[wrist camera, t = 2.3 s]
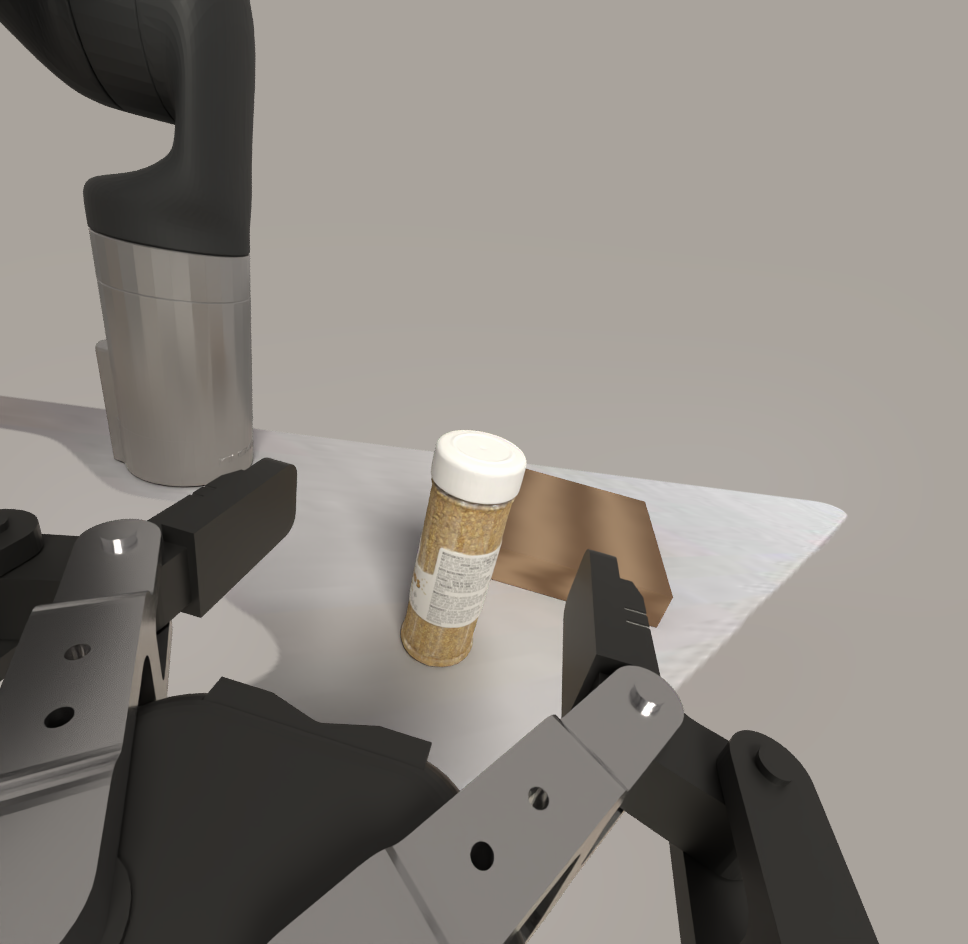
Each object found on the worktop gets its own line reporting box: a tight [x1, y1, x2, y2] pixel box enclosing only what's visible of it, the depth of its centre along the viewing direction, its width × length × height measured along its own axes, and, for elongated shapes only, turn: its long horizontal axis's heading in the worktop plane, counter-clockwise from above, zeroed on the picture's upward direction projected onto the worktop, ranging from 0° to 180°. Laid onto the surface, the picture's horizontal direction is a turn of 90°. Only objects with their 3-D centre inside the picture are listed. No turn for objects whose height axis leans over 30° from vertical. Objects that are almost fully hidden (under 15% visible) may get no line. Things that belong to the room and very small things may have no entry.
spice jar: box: [401, 430, 526, 667], centre depth 25 cm, size 5×5×14 cm
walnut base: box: [491, 469, 673, 628], centre depth 40 cm, size 14×14×3 cm
